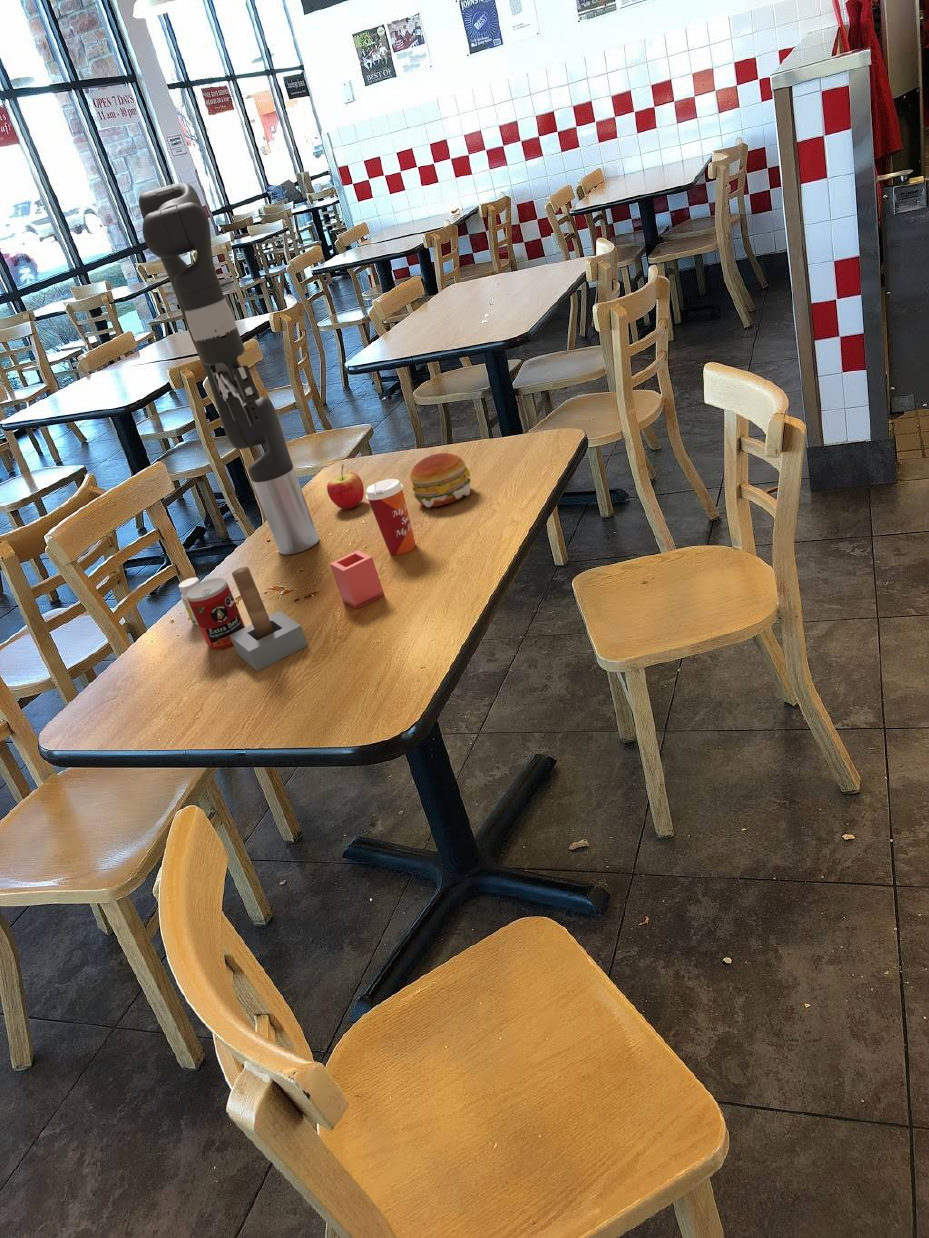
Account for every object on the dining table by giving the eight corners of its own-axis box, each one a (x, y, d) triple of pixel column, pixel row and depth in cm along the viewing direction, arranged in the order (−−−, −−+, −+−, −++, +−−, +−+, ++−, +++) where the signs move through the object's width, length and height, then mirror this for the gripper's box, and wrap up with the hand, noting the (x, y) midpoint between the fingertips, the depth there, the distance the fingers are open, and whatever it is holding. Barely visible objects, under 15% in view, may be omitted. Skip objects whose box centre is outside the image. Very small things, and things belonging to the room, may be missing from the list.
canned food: (213, 655, 180) (190, 602, 175) (203, 641, 187) (181, 590, 182) (252, 637, 183) (231, 585, 178) (241, 624, 189) (220, 573, 184)
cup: (343, 601, 186) (329, 563, 183) (370, 587, 189) (357, 550, 185) (356, 609, 181) (343, 570, 178) (384, 595, 184) (371, 557, 180)
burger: (440, 485, 230) (428, 445, 226) (486, 486, 222) (475, 444, 217) (405, 510, 221) (392, 469, 217) (452, 512, 213) (440, 468, 209)
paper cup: (415, 554, 197) (395, 489, 191) (380, 560, 199) (359, 496, 193) (424, 537, 204) (405, 474, 198) (390, 543, 206) (370, 481, 200)
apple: (375, 498, 234) (362, 459, 229) (354, 514, 228) (340, 474, 223) (349, 499, 238) (336, 460, 234) (327, 514, 233) (313, 475, 228)
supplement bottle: (220, 612, 197) (204, 575, 193) (208, 624, 193) (191, 587, 190) (200, 614, 199) (185, 577, 195) (188, 626, 195) (171, 589, 191)
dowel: (260, 647, 176) (229, 572, 170) (275, 639, 177) (245, 565, 171) (266, 651, 174) (235, 576, 167) (281, 644, 175) (251, 569, 168)
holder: (237, 654, 178) (229, 635, 176) (286, 629, 182) (279, 610, 180) (257, 671, 170) (248, 651, 168) (308, 645, 174) (300, 625, 172)
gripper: (181, 337, 172) (216, 425, 179) (207, 340, 160) (243, 435, 168) (221, 323, 175) (253, 410, 182) (249, 325, 163) (282, 418, 171)
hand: (248, 422), depth 175 cm, fingers open, 8 cm apart
